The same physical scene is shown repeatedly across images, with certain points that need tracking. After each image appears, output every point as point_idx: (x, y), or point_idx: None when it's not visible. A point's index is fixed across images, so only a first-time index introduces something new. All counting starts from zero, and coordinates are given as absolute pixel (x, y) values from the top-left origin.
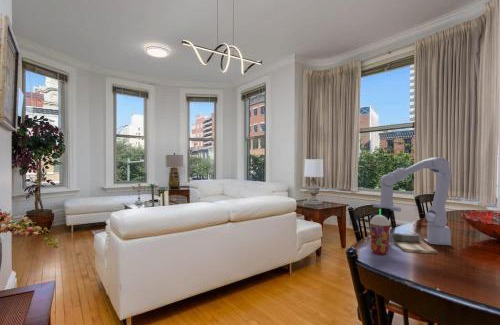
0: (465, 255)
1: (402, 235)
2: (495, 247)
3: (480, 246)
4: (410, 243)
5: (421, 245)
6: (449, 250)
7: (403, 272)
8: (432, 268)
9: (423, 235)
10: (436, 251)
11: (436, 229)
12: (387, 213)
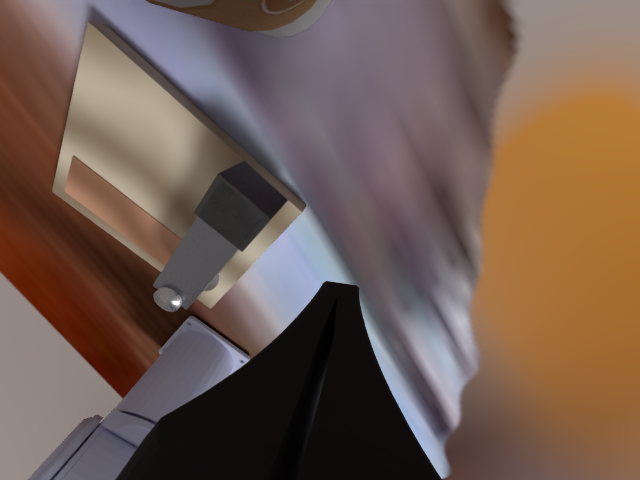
0: (55, 266)
1: (195, 219)
2: None
3: None
4: (185, 211)
5: (139, 222)
6: (111, 284)
7: None
8: None
9: None
10: (54, 188)
11: (130, 395)
12: (202, 394)
